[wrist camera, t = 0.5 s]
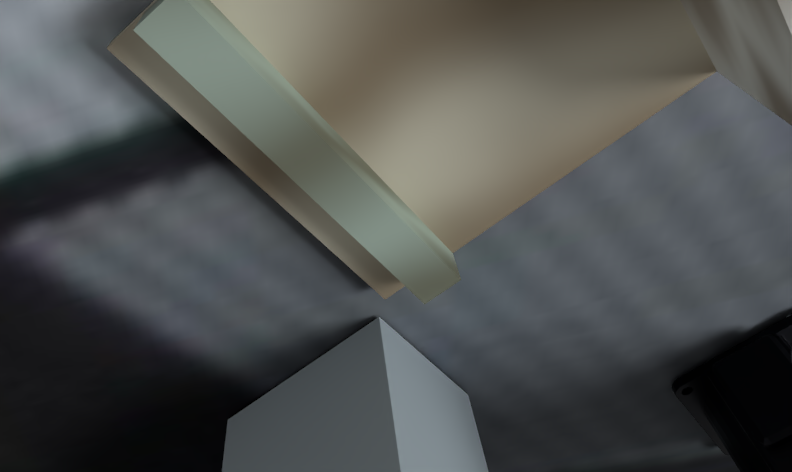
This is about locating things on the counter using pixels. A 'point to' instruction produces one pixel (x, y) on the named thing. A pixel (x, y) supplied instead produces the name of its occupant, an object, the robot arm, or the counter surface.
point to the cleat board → (436, 102)
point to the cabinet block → (359, 415)
